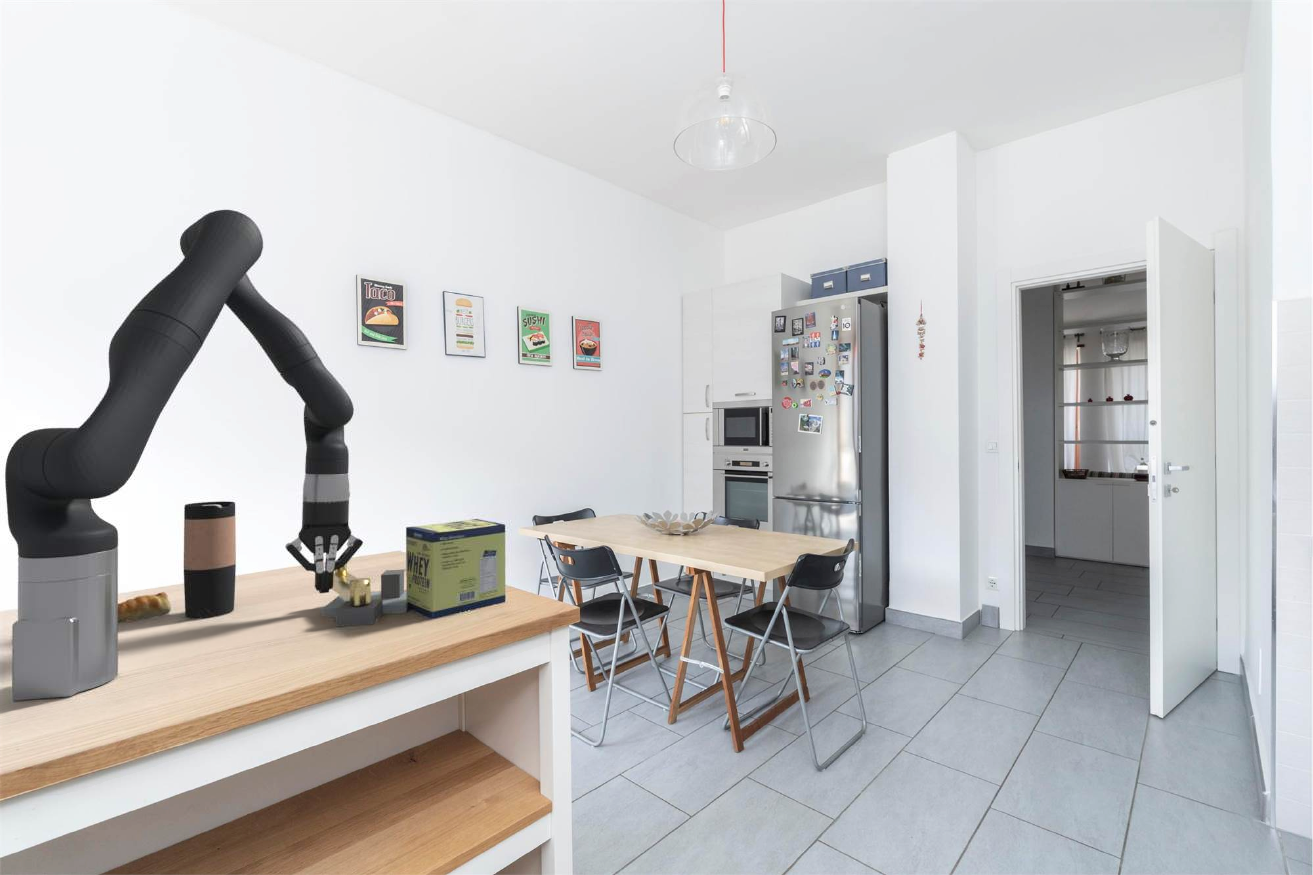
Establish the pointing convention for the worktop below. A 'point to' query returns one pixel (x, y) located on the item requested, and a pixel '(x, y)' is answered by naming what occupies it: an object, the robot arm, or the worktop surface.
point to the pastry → (144, 607)
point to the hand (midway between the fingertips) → (323, 592)
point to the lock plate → (372, 602)
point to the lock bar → (351, 587)
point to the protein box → (455, 567)
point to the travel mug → (209, 559)
